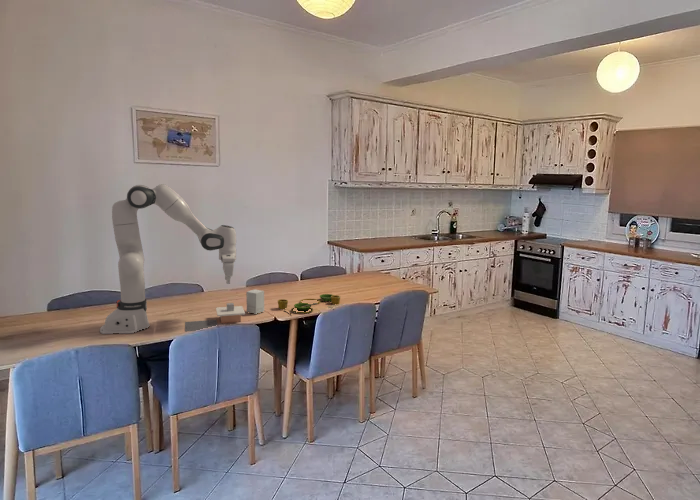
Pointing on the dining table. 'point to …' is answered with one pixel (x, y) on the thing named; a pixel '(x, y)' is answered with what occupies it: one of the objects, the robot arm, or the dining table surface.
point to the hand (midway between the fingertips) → (227, 281)
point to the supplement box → (255, 301)
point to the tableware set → (305, 306)
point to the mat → (199, 325)
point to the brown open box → (230, 319)
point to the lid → (230, 310)
